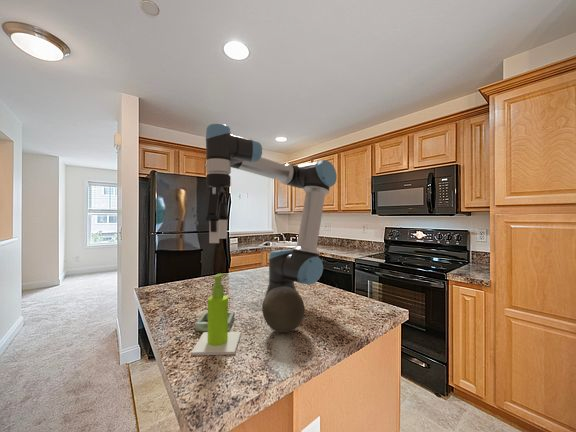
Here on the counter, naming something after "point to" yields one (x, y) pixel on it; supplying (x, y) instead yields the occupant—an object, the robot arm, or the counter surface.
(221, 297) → the soap dispenser
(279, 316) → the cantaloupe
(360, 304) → the counter surface
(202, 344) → the mat
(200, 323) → the frame
